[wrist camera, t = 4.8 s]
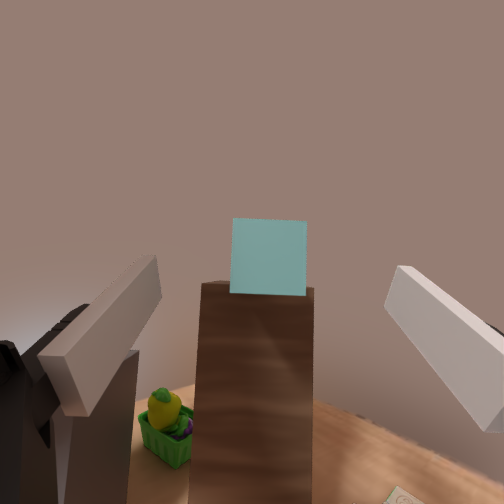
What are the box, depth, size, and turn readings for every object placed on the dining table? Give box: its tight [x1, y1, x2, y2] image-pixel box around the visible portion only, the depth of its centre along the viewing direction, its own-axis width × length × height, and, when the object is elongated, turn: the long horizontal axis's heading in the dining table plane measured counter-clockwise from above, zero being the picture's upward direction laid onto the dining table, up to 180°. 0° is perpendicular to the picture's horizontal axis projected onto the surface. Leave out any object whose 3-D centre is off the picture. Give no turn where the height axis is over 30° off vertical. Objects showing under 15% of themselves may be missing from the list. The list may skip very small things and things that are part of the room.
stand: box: [188, 281, 314, 504], centre depth 26 cm, size 14×10×30 cm
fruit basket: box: [138, 388, 194, 469], centre depth 41 cm, size 11×9×11 cm
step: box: [51, 350, 139, 504], centre depth 25 cm, size 12×9×20 cm
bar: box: [230, 218, 307, 296], centre depth 24 cm, size 26×4×4 cm, turn 1°
